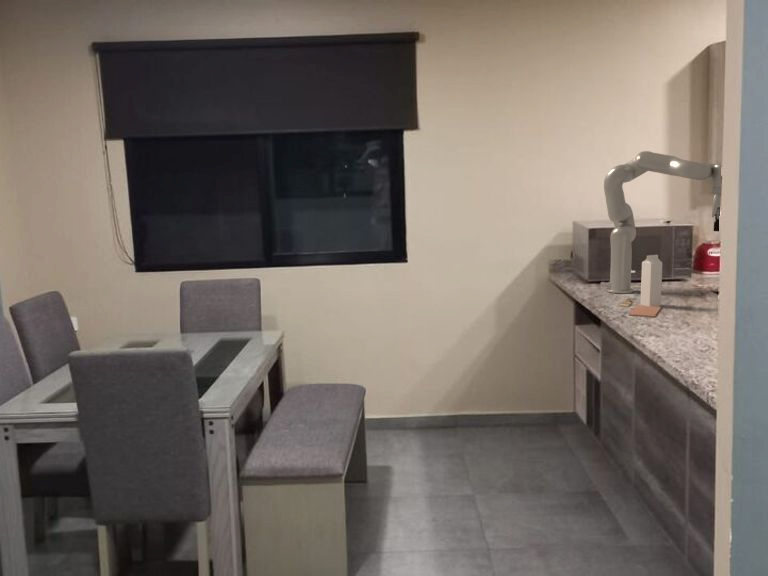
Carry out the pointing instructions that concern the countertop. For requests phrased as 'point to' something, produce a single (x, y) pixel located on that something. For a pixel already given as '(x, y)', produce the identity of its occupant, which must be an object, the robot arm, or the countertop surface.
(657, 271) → the milk
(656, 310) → the mat
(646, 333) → the countertop surface
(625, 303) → the turner
